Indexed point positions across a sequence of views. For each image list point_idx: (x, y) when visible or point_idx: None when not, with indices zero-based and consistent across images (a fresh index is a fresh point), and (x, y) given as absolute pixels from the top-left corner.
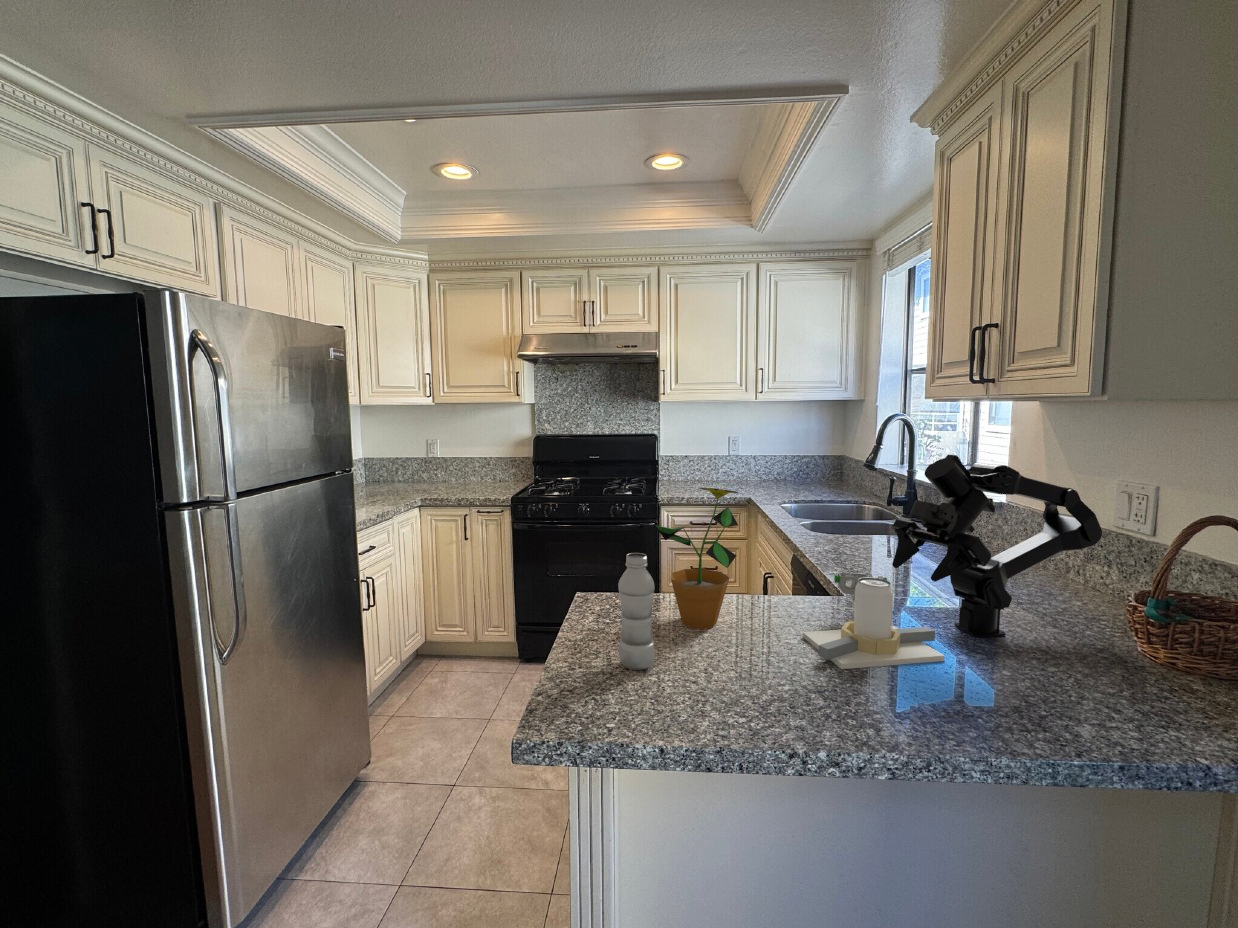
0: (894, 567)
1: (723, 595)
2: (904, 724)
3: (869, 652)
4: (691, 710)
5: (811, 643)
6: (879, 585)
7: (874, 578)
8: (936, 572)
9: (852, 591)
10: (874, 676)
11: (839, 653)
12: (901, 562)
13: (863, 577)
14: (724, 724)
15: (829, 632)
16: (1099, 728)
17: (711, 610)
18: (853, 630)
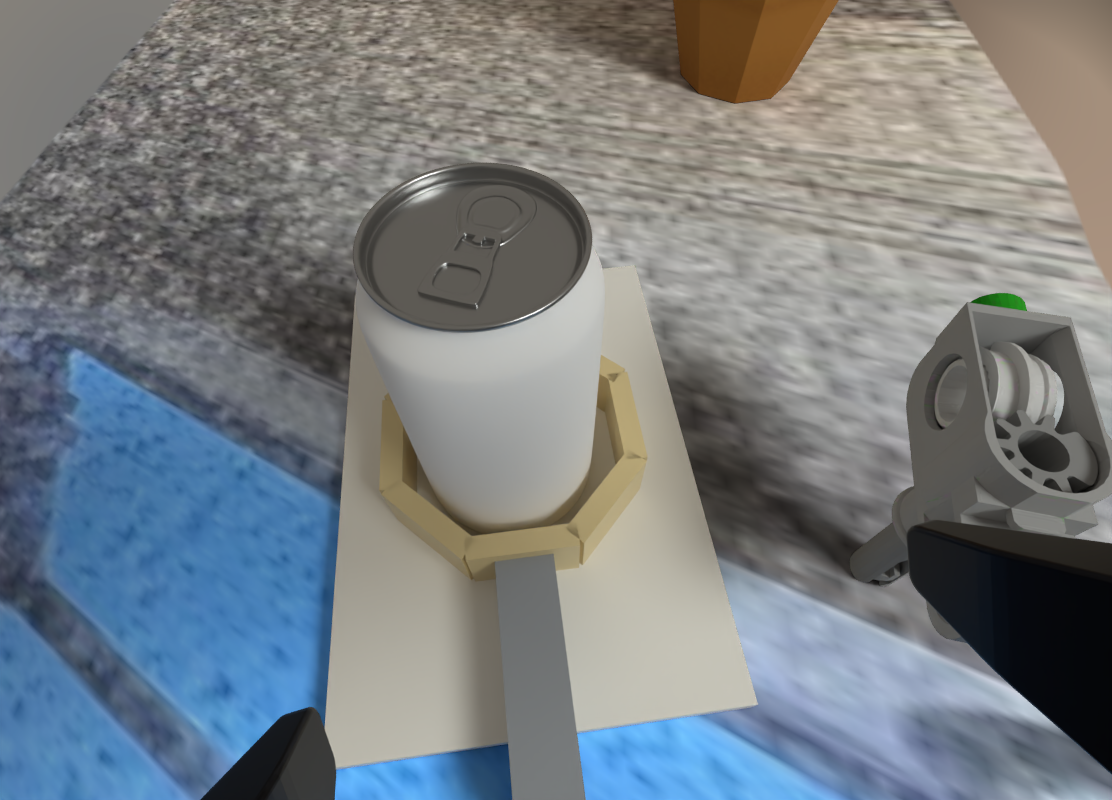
0: (918, 562)
1: (745, 5)
2: (12, 340)
3: None
4: (265, 30)
5: None
6: (417, 258)
7: (570, 277)
8: (220, 782)
9: (918, 433)
10: (286, 383)
11: None
12: (1014, 657)
13: (993, 443)
14: (197, 60)
15: (636, 348)
16: None
17: (689, 24)
18: (609, 415)
